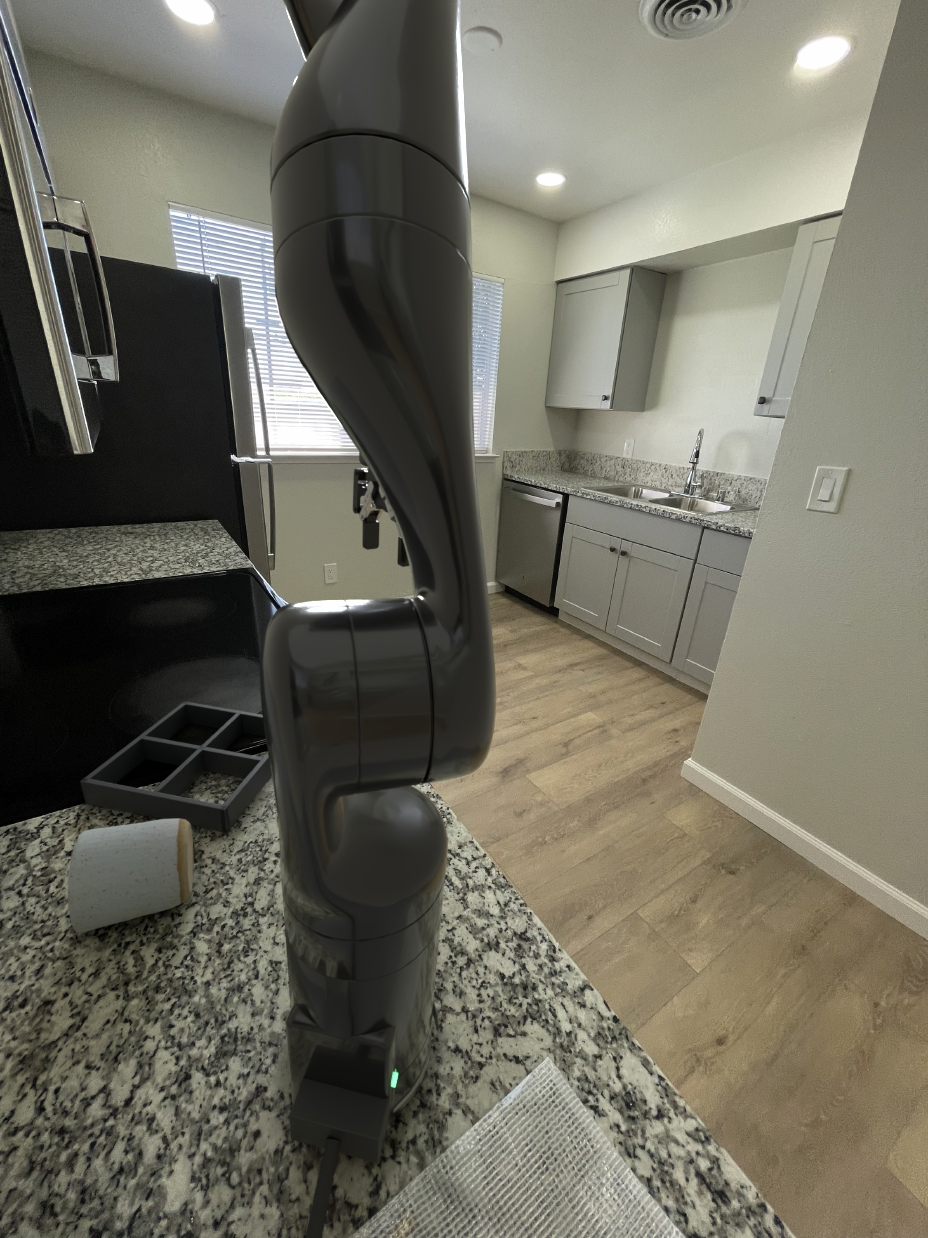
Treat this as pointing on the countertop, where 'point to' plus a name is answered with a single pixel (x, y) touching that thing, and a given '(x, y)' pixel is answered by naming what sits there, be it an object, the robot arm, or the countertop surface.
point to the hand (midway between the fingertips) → (387, 556)
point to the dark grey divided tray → (184, 768)
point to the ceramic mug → (129, 872)
